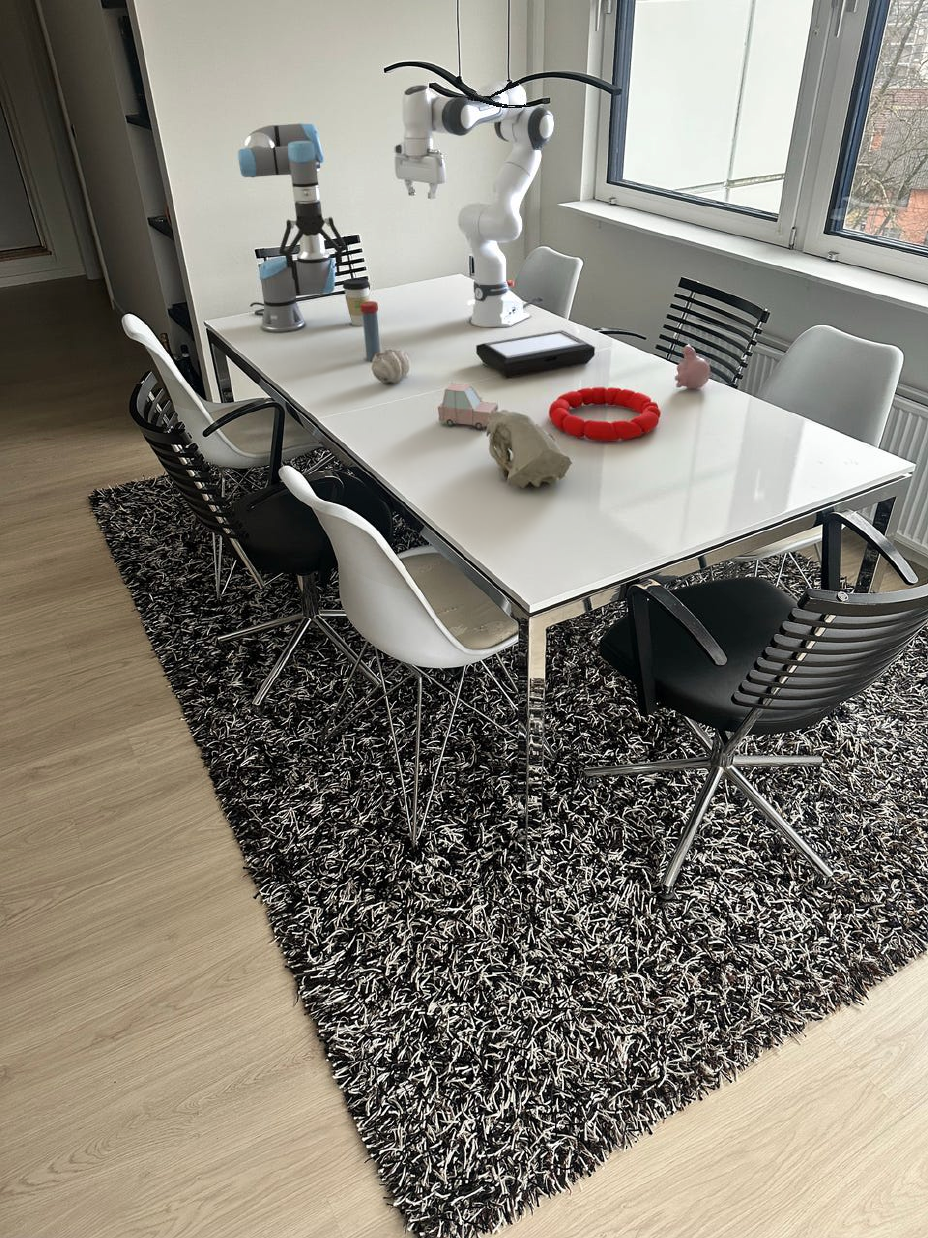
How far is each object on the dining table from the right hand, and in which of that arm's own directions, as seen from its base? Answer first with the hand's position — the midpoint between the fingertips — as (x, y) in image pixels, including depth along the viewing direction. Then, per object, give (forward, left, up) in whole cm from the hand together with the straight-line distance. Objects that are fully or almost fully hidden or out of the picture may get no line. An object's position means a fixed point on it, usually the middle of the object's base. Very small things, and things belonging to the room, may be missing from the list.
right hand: (421, 196), depth 281 cm
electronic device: (-7, +43, -46) cm, 63 cm away
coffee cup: (+2, -36, -46) cm, 58 cm away
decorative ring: (+16, +89, -46) cm, 102 cm away
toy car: (+42, +62, -46) cm, 88 cm away
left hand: (+39, -6, -18) cm, 43 cm away
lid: (+24, -1, -28) cm, 37 cm away
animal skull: (+54, +94, -46) cm, 117 cm away
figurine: (-21, +92, -46) cm, 105 cm away
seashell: (+34, +22, -46) cm, 61 cm away
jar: (+24, -1, -46) cm, 52 cm away
